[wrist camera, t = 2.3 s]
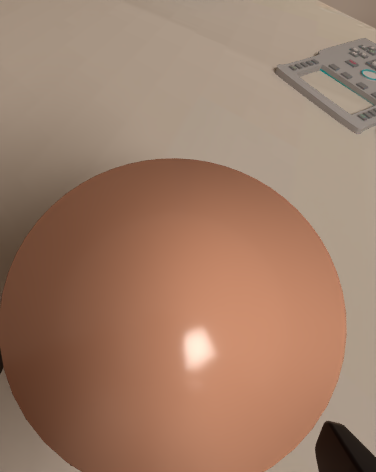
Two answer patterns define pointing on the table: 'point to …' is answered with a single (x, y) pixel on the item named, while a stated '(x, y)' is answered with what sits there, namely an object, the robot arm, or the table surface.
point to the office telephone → (339, 79)
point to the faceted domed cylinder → (172, 322)
